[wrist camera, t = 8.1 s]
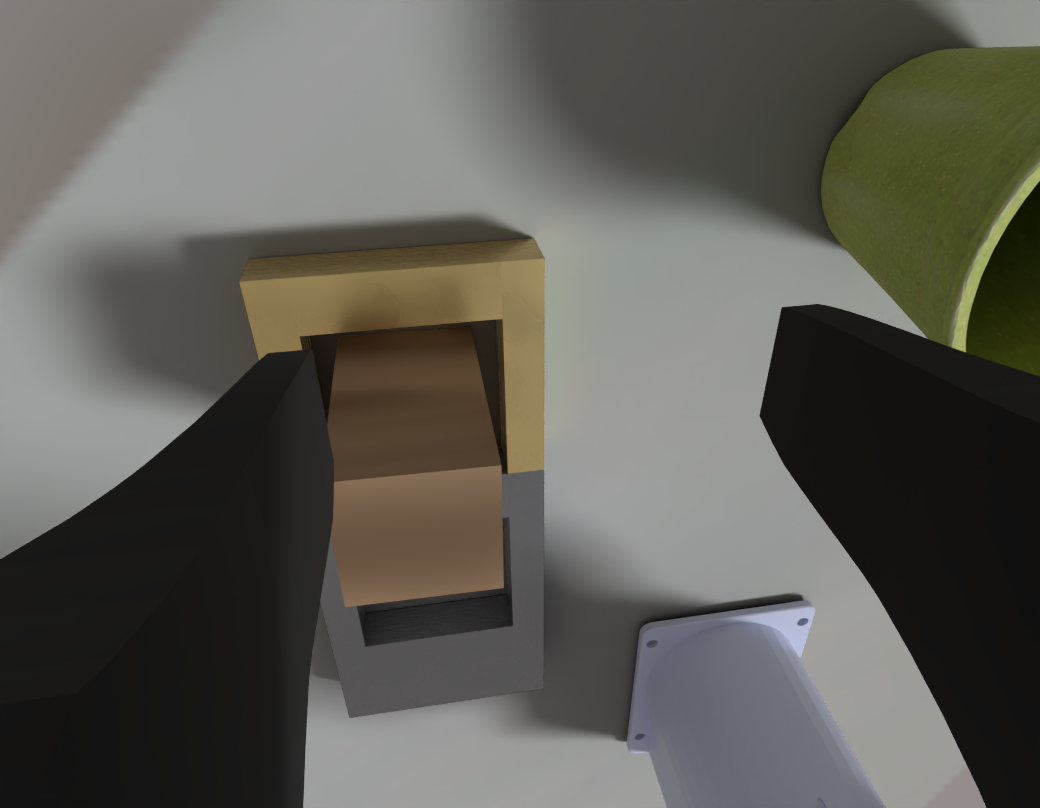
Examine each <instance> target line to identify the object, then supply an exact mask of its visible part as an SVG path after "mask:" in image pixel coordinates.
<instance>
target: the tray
mask: <svg viewBox="0 0 1040 808" xmlns="http://www.w3.org/2000/svg"><path fill="white" fill-rule="evenodd" d="M544 279H545V258H544V256H543V255H542V253H541V251H540V249H539V247H538V245H537V243H536V241H535V239H534V238H530V239H516V240H503V241H489V242H475V243H461V244H448V245H434V246H420V247H406V248H393V249H379V250H365V251H352V252H338V253H324V254H310V255H297V256H283V257H269V258H255V259H249V261H248V263H247V265H246V267H245V270H244V272H243V274H242V277H241V279H240V281H239V283H240V287H241V291H242V295H243V299H244V303H245V307H246V311H247V315H248V319H249V322H250V326H251V330H252V334H253V338H254V342H255V346H256V350H257V354H258V358H259V360H260V359H261V358H263V357H264V356H265V355H266V354H267V353H274V352H286V351H297V350H308V349H311V351H312V356H313V360H314V365H315V370H316V375H317V380H318V385H319V390H320V395H321V400H322V404H323V409H324V414H325V419H326V424H327V423H328V422H327V417H326V412H325V407H324V402H323V397H322V392H321V388H320V383H319V378H318V373H317V368H316V363H315V358H314V353H313V348H312V343H311V338H310V335H322V334H333V333H345V332H356V331H368V330H380V329H391V328H403V327H414V326H426V325H437V324H449V323H460V322H472V321H483V320H495V319H496V324H497V349H498V375H499V400H500V426H501V445H497V448H498V452H499V457H500V461H501V469H502V518H504V528H505V553H506V579H507V594H505V595H498V596H491V597H483V598H476V599H468V600H461V601H454V602H446V603H439V604H431V605H424V606H417V607H409V608H402V609H394V610H387V611H379V612H372V613H366V609H365V605H360V606H352V607H345V604H344V599H343V594H342V589H341V584H340V579H339V574H338V569H337V564H336V559H335V554H334V549H333V544H332V539H331V536H330V543H329V549H328V556H327V562H326V568H325V574H324V580H323V587H322V593H321V599H320V603H321V607H322V611H323V615H324V619H325V623H326V627H327V631H328V635H329V639H330V643H331V647H332V651H333V655H334V658H335V662H336V666H337V670H338V674H339V678H340V682H341V686H342V690H343V694H344V698H345V702H346V706H347V710H348V714H349V718H353V717H359V716H366V715H373V714H379V713H386V712H392V711H399V710H405V709H412V708H418V707H425V706H432V705H438V704H445V703H451V702H458V701H464V700H471V699H478V698H484V697H491V696H497V695H504V694H510V693H517V692H523V691H530V690H537V689H543V688H544Z"/></svg>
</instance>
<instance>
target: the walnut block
mask: <svg viewBox="0 0 1040 808" xmlns="http://www.w3.org/2000/svg"><path fill="white" fill-rule="evenodd" d="M327 429H328V434H329V439H330V444H331V449H332V453H333V458H334V506H333V523H332V530H331V539H332V544H333V549H334V554H335V559H336V564H337V569H338V574H339V579H340V584H341V589H342V594H343V599H344V604H345V607H352V606H360V605H369V604H377V603H385V602H393V601H401V600H409V599H418V598H426V597H434V596H442V595H450V594H458V593H467V592H475V591H483V590H491V589H499V588H504V573H503V521H502V469H501V461H500V457H499V452H498V448H497V443H496V439H495V434H494V430H493V425H492V421H491V416H490V412H489V407H488V403H487V398H486V394H485V389H484V385H483V380H482V375H481V371H480V366H479V362H478V357H477V353H476V348H475V344H474V339H473V335H472V330H471V326H467V327H453V328H439V329H426V330H412V331H398V332H384V333H371V334H357V335H343V336H338V340H337V348H336V357H335V365H334V373H333V382H332V390H331V398H330V407H329V415H328V423H327Z"/></svg>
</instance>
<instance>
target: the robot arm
mask: <svg viewBox="0 0 1040 808" xmlns="http://www.w3.org/2000/svg"><path fill="white" fill-rule="evenodd" d="M760 418H761V420H762V422H763V424H764V426H765V428H766V430H767V432H768V435H769V437H770V439H771V441H772V443H773V445H774V447H775V449H776V450H777V452H778V454H779V456H780V458H781V460H782V462H783V463H784V465H785V467H786V468H787V470H788V471H789V473H790V474H791V476H792V477H793V478H794V480H795V481H796V483H797V484H798V485H799V487H800V488H801V490H802V491H803V492H804V494H805V495H806V497H807V498H808V499H809V501H810V502H811V504H812V505H813V506H814V508H815V509H816V510H817V512H818V513H819V515H820V516H821V517H822V519H823V520H824V521H825V523H826V524H827V525H828V527H829V528H830V530H831V531H832V532H833V534H834V535H835V536H836V538H837V539H838V540H839V542H840V543H841V545H842V546H843V547H844V549H845V550H846V551H847V553H848V554H849V556H850V557H851V558H852V560H853V561H854V562H855V564H856V565H857V566H858V568H859V569H860V571H861V572H862V573H863V575H864V576H865V578H866V579H867V581H868V582H869V584H870V585H871V587H872V588H873V590H874V591H875V593H876V594H877V596H878V598H879V599H880V601H881V603H882V604H883V606H884V608H885V610H886V611H887V613H888V615H889V617H890V618H891V620H892V622H893V624H894V625H895V627H896V629H897V631H898V632H899V634H900V636H901V638H902V639H903V641H904V643H905V645H906V646H907V648H908V650H909V652H910V653H911V655H912V657H913V659H914V661H915V663H916V665H917V667H918V669H919V670H920V672H921V674H922V676H923V678H924V680H925V682H926V684H927V686H928V687H929V689H930V691H931V693H932V695H933V697H934V699H935V701H936V703H937V705H938V706H939V708H940V710H941V712H942V714H943V716H944V718H945V720H946V722H947V724H948V727H949V729H950V731H951V733H952V735H953V737H954V739H955V741H956V743H957V745H958V747H959V749H960V752H961V754H962V756H963V758H964V760H965V762H966V764H967V766H968V768H969V770H970V772H971V774H972V777H973V779H974V781H975V783H976V785H977V787H978V789H979V791H980V794H981V796H982V798H983V801H984V803H985V805H986V808H1040V376H1038V375H1034V374H1031V373H1028V372H1025V371H1022V370H1018V369H1015V368H1012V367H1009V366H1006V365H1003V364H999V363H996V362H993V361H990V360H987V359H984V358H981V357H978V356H975V355H972V354H969V353H966V352H963V351H960V350H958V349H955V348H952V347H949V346H946V345H943V344H941V343H938V342H935V341H932V340H929V339H927V338H924V337H921V336H918V335H916V334H913V333H910V332H907V331H904V330H902V329H899V328H896V327H893V326H890V325H888V324H885V323H882V322H879V321H876V320H873V319H871V318H868V317H864V316H861V315H858V314H855V313H852V312H849V311H845V310H842V309H838V308H834V307H830V306H825V305H821V304H814V305H803V306H792V307H782V309H781V314H780V319H779V324H778V329H777V333H776V338H775V343H774V348H773V353H772V358H771V363H770V368H769V372H768V377H767V382H766V387H765V392H764V397H763V402H762V407H761V411H760ZM333 506H334V458H333V453H332V449H331V444H330V439H329V434H328V429H327V424H326V419H325V414H324V409H323V404H322V400H321V395H320V390H319V385H318V380H317V375H316V370H315V365H314V360H313V356H312V351H311V349H308V350H297V351H286V352H274V353H267V354H266V355H265V356H264V357H263V358H261V359H260V360H259V361H258V362H257V363H256V364H255V365H254V366H253V367H252V368H251V369H250V370H249V371H248V372H247V373H246V374H245V375H244V376H243V377H242V378H241V379H240V380H239V381H238V382H237V383H236V384H234V385H233V386H232V387H231V388H230V389H229V390H228V391H227V392H226V393H225V394H224V395H223V396H222V397H221V398H220V399H219V400H218V401H217V402H216V403H215V404H214V405H213V406H212V407H211V408H209V409H208V410H207V411H206V412H205V413H204V414H203V415H202V416H201V417H200V418H199V419H198V420H197V421H196V422H195V423H193V424H192V425H191V426H190V427H189V428H188V429H186V430H185V431H184V432H183V433H182V434H180V435H179V436H178V437H177V438H176V439H175V440H173V441H172V442H171V443H170V444H169V445H168V446H166V447H165V448H164V449H163V450H162V451H160V452H159V453H158V454H157V455H156V456H155V457H153V458H152V459H151V460H150V461H149V462H148V463H146V464H145V465H144V466H142V467H141V468H140V469H139V470H137V471H136V472H135V473H133V474H132V475H131V476H129V477H128V478H127V479H125V480H124V481H123V482H121V483H120V484H119V485H117V486H116V487H115V488H113V489H112V490H110V491H109V492H107V493H106V494H104V495H103V496H102V497H100V498H99V499H97V500H96V501H94V502H93V503H91V504H90V505H89V506H87V507H86V508H84V509H83V510H81V511H80V512H78V513H77V514H75V515H74V516H72V517H71V518H69V519H67V520H66V521H64V522H63V523H61V524H59V525H58V526H56V527H54V528H53V529H51V530H49V531H47V532H46V533H44V534H42V535H41V536H39V537H37V538H36V539H34V540H32V541H31V542H29V543H27V544H25V545H24V546H22V547H20V548H19V549H17V550H15V551H14V552H12V553H10V554H9V555H7V556H5V557H4V558H2V559H0V808H303V796H304V770H305V745H306V725H307V706H308V687H309V674H310V666H311V657H312V648H313V642H314V636H315V630H316V624H317V617H318V611H319V605H320V599H321V593H322V587H323V580H324V574H325V568H326V562H327V556H328V549H329V543H330V536H331V530H332V523H333ZM814 614H815V608H814V607H813V605H812V604H811V602H809V601H796V602H789V603H782V604H775V605H768V606H762V607H755V608H748V609H741V610H734V611H727V612H720V613H713V614H706V615H699V616H692V617H685V618H678V619H671V620H664V621H657V622H651V623H647V624H645V625H644V626H643V627H642V628H641V629H640V632H639V641H638V649H637V658H636V667H635V675H634V684H633V693H632V701H631V710H630V719H629V727H628V736H627V747H628V750H629V752H631V753H634V754H636V753H643V752H649V754H650V757H651V760H652V763H653V766H654V769H655V772H656V775H657V778H658V782H659V785H660V788H661V791H662V794H663V797H664V800H665V803H666V806H667V808H886V807H885V805H884V804H883V802H882V800H881V798H880V797H879V795H878V793H877V791H876V790H875V788H874V786H873V784H872V783H871V781H870V779H869V778H868V776H867V774H866V772H865V771H864V769H863V767H862V765H861V764H860V762H859V760H858V759H857V757H856V755H855V753H854V752H853V750H852V748H851V746H850V745H849V743H848V741H847V740H846V738H845V736H844V734H843V733H842V731H841V729H840V727H839V726H838V724H837V722H836V721H835V719H834V717H833V715H832V714H831V712H830V710H829V708H828V707H827V705H826V703H825V702H824V700H823V698H822V696H821V695H820V693H819V691H818V689H817V688H816V686H815V684H814V683H813V681H812V679H811V677H810V676H809V674H808V672H807V670H806V669H805V667H804V665H803V664H802V662H801V660H800V658H801V655H802V652H803V649H804V646H805V642H806V639H807V636H808V633H809V630H810V627H811V623H812V620H813V617H814Z"/></svg>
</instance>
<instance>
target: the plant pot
mask: <svg viewBox="0 0 1040 808" xmlns="http://www.w3.org/2000/svg"><path fill="white" fill-rule="evenodd" d="M821 201H822V207H823V212H824V215H825V218H826V221H827V224H828V226H829V228H830V230H831V232H832V233H833V235H834V236H835V238H836V239H837V240H838V241H839V243H840V244H841V245H842V246H843V247H844V248H845V249H846V250H847V251H848V253H849V254H850V255H851V256H852V257H853V258H854V259H855V260H856V261H857V262H858V263H859V264H860V265H861V266H862V267H863V268H864V269H865V270H866V271H867V272H868V273H869V274H870V275H871V276H872V278H873V279H874V280H875V281H876V282H877V283H878V284H879V285H880V286H881V287H882V288H883V289H884V290H885V292H886V293H887V294H888V295H889V296H890V297H891V298H892V299H893V300H894V301H895V302H896V304H897V305H898V306H899V307H900V308H901V309H902V310H903V311H904V312H905V313H906V315H907V316H908V317H909V318H910V319H911V320H912V321H913V322H914V323H915V325H916V326H917V327H918V328H919V329H920V330H921V331H922V332H923V333H924V334H925V336H926V337H927V338H928V339H929V340H932V341H935V342H938V343H941V344H943V345H946V346H949V347H952V348H955V349H958V350H960V351H963V352H966V353H969V354H972V355H975V356H978V357H981V358H984V359H987V360H990V361H993V362H996V363H999V364H1003V365H1006V366H1009V367H1012V368H1015V369H1018V370H1022V371H1025V372H1028V373H1031V374H1034V375H1038V376H1040V46H1033V47H993V48H958V49H943V50H938V51H934V52H930V53H927V54H924V55H921V56H919V57H916V58H914V59H911V60H910V61H908V62H906V63H904V64H902V65H900V66H899V67H897V68H895V69H894V70H892V71H890V72H889V73H887V74H886V75H885V76H884V77H882V78H881V79H880V80H879V81H878V82H876V83H875V84H874V85H873V86H872V87H871V88H870V89H869V91H868V93H867V94H866V96H865V98H864V99H863V101H862V103H861V104H860V106H859V107H858V108H857V110H856V111H855V113H854V114H853V115H852V116H851V118H850V119H849V120H848V122H847V123H846V124H845V126H844V127H843V128H842V130H841V131H840V132H839V133H838V134H837V135H836V136H835V138H834V140H833V142H832V143H831V146H830V149H829V151H828V154H827V157H826V161H825V165H824V169H823V174H822V181H821Z"/></svg>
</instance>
